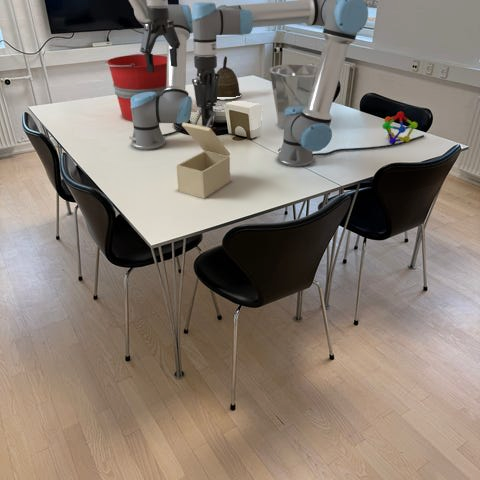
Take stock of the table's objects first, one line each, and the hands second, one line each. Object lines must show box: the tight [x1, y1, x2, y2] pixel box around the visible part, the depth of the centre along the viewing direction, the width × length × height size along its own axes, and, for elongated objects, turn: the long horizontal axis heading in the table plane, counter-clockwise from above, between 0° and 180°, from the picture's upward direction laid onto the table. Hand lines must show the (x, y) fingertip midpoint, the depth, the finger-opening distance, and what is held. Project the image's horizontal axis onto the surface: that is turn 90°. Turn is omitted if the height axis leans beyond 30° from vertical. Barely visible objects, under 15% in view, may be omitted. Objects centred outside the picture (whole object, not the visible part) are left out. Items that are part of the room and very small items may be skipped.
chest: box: [176, 150, 231, 199], centre depth 166 cm, size 17×12×10 cm
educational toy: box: [382, 110, 418, 145], centre depth 207 cm, size 16×13×15 cm
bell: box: [216, 56, 242, 97], centre depth 278 cm, size 19×26×20 cm
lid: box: [181, 108, 231, 157], centre depth 162 cm, size 18×12×9 cm
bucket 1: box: [103, 53, 167, 122], centre depth 240 cm, size 35×35×30 cm
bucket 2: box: [269, 63, 318, 129], centre depth 226 cm, size 30×30×28 cm
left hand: (162, 69), depth 170 cm, fingers open, 13 cm apart
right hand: (207, 125), depth 159 cm, fingers closed on lid, 2 cm apart
